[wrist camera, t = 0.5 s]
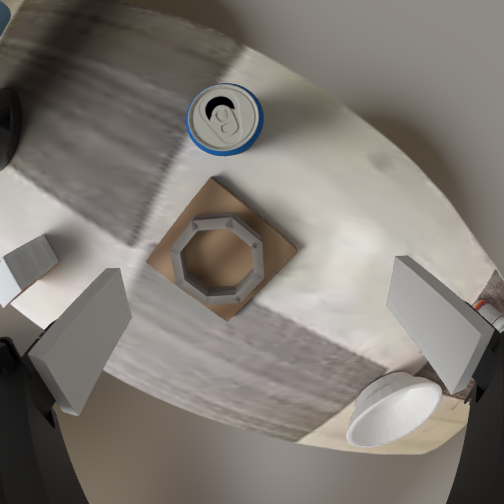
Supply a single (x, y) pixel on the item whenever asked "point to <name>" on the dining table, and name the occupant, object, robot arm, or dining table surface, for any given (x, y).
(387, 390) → the bowl
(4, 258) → the small box
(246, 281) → the socket
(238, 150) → the beverage can
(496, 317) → the pill bottle
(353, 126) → the dining table surface
